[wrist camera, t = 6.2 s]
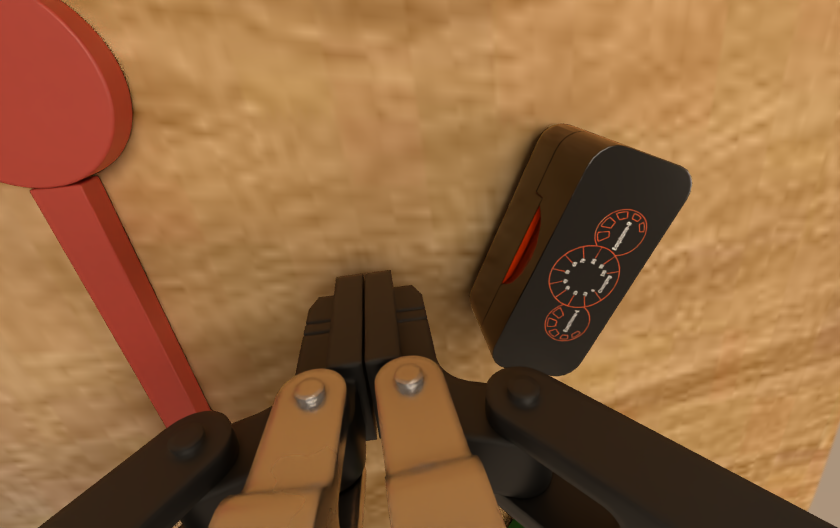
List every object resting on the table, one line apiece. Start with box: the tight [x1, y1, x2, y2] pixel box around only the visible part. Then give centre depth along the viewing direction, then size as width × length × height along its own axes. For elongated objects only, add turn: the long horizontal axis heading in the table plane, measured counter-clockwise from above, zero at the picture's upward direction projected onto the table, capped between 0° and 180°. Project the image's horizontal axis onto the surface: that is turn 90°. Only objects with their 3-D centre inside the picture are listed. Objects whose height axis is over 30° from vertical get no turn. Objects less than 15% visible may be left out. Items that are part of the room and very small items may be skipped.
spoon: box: [0, 0, 211, 428], centre depth 12 cm, size 4×17×1 cm, turn 4°
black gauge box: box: [469, 124, 692, 376], centre depth 12 cm, size 5×7×3 cm, turn 161°
